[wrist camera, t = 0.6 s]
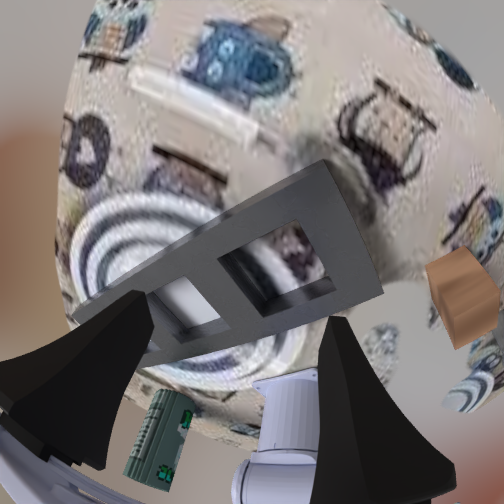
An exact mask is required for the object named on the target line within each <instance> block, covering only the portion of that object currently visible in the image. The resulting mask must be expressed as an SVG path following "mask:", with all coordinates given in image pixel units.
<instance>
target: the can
mask: <svg viewBox="0 0 504 504" xmlns="http://www.w3.org/2000/svg"><path fill="white" fill-rule="evenodd" d="M195 407H196V405H195V403H194V402H193V401H191V399H190V398H188V397H186V396H184V395H183V394H181V393H177V392H175V391H171V390H167V389H165V390H163V389H160V390H158V391H156V393H155V396H154V398H153V400H152V403H151V405H150V407H149V410H148V412H147V415H146V417H145V419H144V422H143V424H142V427H141V429H140V432H139V434H138V437H137V439H136V442H135V444H134V447H133V449H132V452H131V454H130V457H129V459H128V462H127V464H126V467H125V470H124V472H123V475H125V476H127V477H129V478H131V479H134V480H135V481H138V482H140V483H143V484H145V485H148V486H150V487H153V488H156V489H159V490H162V491H166V492H169V490H170V486H171V483H172V480H173V477H174V474H175V470H176V467H177V464H178V461H179V458H180V455H181V451H182V448H183V445H184V442H185V438H186V436H187V432H188V429H189V426H190V423H191V420H192V417H193V414H194V411H195Z"/></svg>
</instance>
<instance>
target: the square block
mask: <svg viewBox="0 0 504 504" xmlns="http://www.w3.org/2000/svg"><path fill="white" fill-rule="evenodd" d="M425 267H426V272H427V276H428V281H429V285H430V291H431V296H432V300H433V302H434V304H435V306H436V308H437V310H438V312H439V314H440V316H441V319H442V321H443V323H444V325H445V327H446V330H447V332H448V334H449V337H450V339H451V341H452V343H453V346H454V349H455V350H456V349H459V348H460V347H462V346H464V345H466V344H468V343H470V342H472V341H474V340H476V339H477V338H479V337H481V336H483V335H484V334H486V333H488V332H490V331H491V330H493V329H495V328H496V327H497V322H498V314H499V304H500V290H499V288H498V287H497V285H496V284H495V283H494V281H493V280H492V279H491V277H490V276H489V275H488V273H487V272H486V271H485V270H484V268H483V267H482V266H481V265H480V263H479V262H478V261H477V260H476V258H475V257H474V256H473V255H472V254H471V252H470V251H469V250H468V249H467V248H466V247H465V245H464V246H462V247H460V248H458V249H456V250H454V251H453V252H451V253H449V254H447V255H445V256H443V257H441V258H439V259H437V260H435V261H433V262H431V263H429V264H427V265H425Z"/></svg>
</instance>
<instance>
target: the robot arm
mask: <svg viewBox="0 0 504 504" xmlns="http://www.w3.org/2000/svg"><path fill="white" fill-rule="evenodd" d="M154 327H155V326H154V323H153V320H152V316H151V313H150V310H149V306H148V302H147V299H146V295H145V292H143V291H138V290H131V291H129V292H128V293H126V294H125V295H123V296H122V297H120V298H119V299H117V300H116V301H115V302H113V303H112V304H110V305H109V306H108V307H106V308H105V309H103V310H102V311H101V312H99V313H98V314H96V315H95V316H94V317H92V318H91V319H89V320H88V321H86V322H85V323H83V324H82V325H80V326H79V327H77V328H76V329H74V330H73V331H71V332H69V333H68V334H66V335H65V336H63V337H61V338H59V339H57V340H56V341H54V342H52V343H50V344H48V345H45V346H44V347H41V348H39V349H37V350H35V351H32V352H30V353H27V354H25V355H22V356H19V357H16V358H13V359H9V360H5V361H1V362H0V408H1V409H2V410H3V412H2V414H1V413H0V483H1V484H2V486H3V487H4V488H5V490H6V491H7V492H8V494H9V495H10V496H11V498H12V499H13V500H14V501H15V503H16V504H105V503H107V504H144V503H142V502H139V501H137V500H134V499H132V498H129V497H127V496H125V495H123V494H120V493H118V492H116V491H114V490H112V489H110V488H108V487H106V486H104V485H101V484H100V483H98V482H96V481H94V480H92V479H90V478H89V477H87V476H85V475H83V474H82V473H80V472H78V471H77V470H75V469H73V468H72V467H71V465H72V463H75V464H77V465H78V466H81V464H82V462H83V463H85V464H87V465H89V466H91V467H92V468H94V469H96V470H98V471H99V470H103V469H105V466H106V458H107V452H108V446H109V441H110V437H111V432H112V428H113V424H114V421H115V418H116V414H117V411H118V408H119V405H120V403H121V400H122V397H123V394H124V392H125V390H126V388H127V386H128V384H129V382H130V380H131V378H132V376H133V374H134V372H135V370H136V368H137V366H138V364H139V362H140V360H141V359H142V357H143V355H144V353H145V351H146V349H147V347H148V344H149V341H150V339H151V336H152V333H153V330H154ZM252 387H253V388H255V389H256V390H257V391H258V392H259V393H260V394H262V395H263V396H264V397H265V398H266V399H265V406H264V412H263V418H262V425H261V431H260V437H259V443H258V449H257V452H252V455H251V459H246V460H244V461H243V462H242V463H241V464H240V465H239V466H238V468H237V470H236V472H235V474H234V478H233V482H232V492H231V494H232V501H233V504H431V499H432V498H435V497H437V496H440V495H443V494H445V493H447V492H450V491H452V490H454V489H455V488H456V486H457V485H456V473H455V467H454V464H453V463H452V462H451V461H450V460H449V459H447V458H446V457H445V456H444V455H443V454H441V453H440V452H439V451H438V450H436V449H435V448H434V447H433V446H432V445H431V444H430V443H429V442H428V441H427V440H426V439H425V438H424V437H423V436H422V435H421V434H420V433H419V432H418V430H416V428H415V427H414V426H413V425H412V423H411V422H410V421H409V420H408V419H407V418H406V417H405V416H404V414H403V413H402V412H401V410H400V409H399V408H398V407H397V405H396V404H395V402H394V401H393V400H392V398H391V397H390V395H389V394H388V392H387V391H386V389H385V388H384V386H383V385H382V383H381V382H380V380H379V378H378V377H377V375H376V374H375V372H374V370H373V368H372V367H371V365H370V363H369V361H368V360H367V358H366V356H365V354H364V352H363V350H362V349H361V347H360V345H359V343H358V341H357V339H356V337H355V335H354V333H353V331H352V329H351V327H350V325H349V322H348V320H347V319H346V317H340V316H329V318H328V322H327V325H326V328H325V332H324V335H323V338H322V342H321V345H320V348H319V354H318V369H316V368H310V369H306V370H303V371H299V372H295V373H291V374H287V375H283V376H279V377H274V378H270V379H265V380H261V381H256V382H253V383H252ZM78 488H80V489H81V490H83V491H85V492H87V493H88V494H90V495H92V496H94V497H96V498H97V499H99V500H101V501H103V502H105V503H103V502H101V501H99V500H97V499H95V498H92V497H90V496H88V495H85V494H83V493H81V492H79V490H78ZM454 504H460V502H457V503H454Z"/></svg>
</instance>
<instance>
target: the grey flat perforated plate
mask: <svg viewBox="0 0 504 504" xmlns="http://www.w3.org/2000/svg"><path fill="white" fill-rule="evenodd" d="M295 219H297V220H298V222H299V224H300V226H301V227H302V229H303V231H304V232H305V234H306V236H307V238H308V239H309V241H310V243H311V244H312V246H313V248H314V250H315V251H316V253H317V255H318V257H319V259H320V260H321V262H322V264H323V266H324V267H325V269H326V271H327V273H328V275H329V276H327V277H324V278H322V279H320V280H317V281H315V282H313V283H310V284H308V285H305V286H303V287H300V288H298V289H295V290H293V291H290V292H288V293H285V294H283V295H280V296H278V297H275V298H273V299H270V300H267V301H266V300H265V299H264V298H263V296H262V295H261V294H260V292H259V291H258V290H257V288H256V287H255V286H254V284H253V283H252V282H251V280H250V279H249V278H248V276H247V275H246V274H245V272H244V271H243V270H242V268H241V267H240V266H239V264H238V263H237V262H236V260H235V259H234V258H233V256H232V255H231V254H230V252H231V251H233V250H235V249H237V248H239V247H241V246H243V245H245V244H247V243H249V242H251V241H253V240H255V239H257V238H259V237H261V236H263V235H265V234H267V233H269V232H271V231H273V230H275V229H277V228H279V227H281V226H283V225H285V224H287V223H289V222H291V221H293V220H295ZM183 275H185V276H186V277H187V278H188V279H189V281H190V282H191V283H192V284H193V285H194V286H195V288H196V289H197V290H198V291H199V292H200V293H201V295H202V296H203V297H204V298H205V299H206V300H207V302H208V303H209V304H210V305H211V306H212V307H213V308H214V310H215V311H216V312H217V313H218V314H219V315H220V316H221V317H222V318H219V319H216V320H213V321H210V322H207V323H204V324H202V325H199V326H196V327H193V328H190V329H187V328H186V327H185V326H184V325H183V324H182V323H181V322H180V321H179V320H178V319H177V318H176V317H175V316H174V315H173V314H172V312H171V311H170V310H169V309H168V308H167V307H166V306H165V305H164V304H163V303H162V302H161V301H160V299H159V298H158V297H157V296H156V295H155V294H154V293H153V292H152V291H154V290H156V289H158V288H160V287H162V286H164V285H166V284H168V283H170V282H171V281H173V280H175V279H177V278H179V277H181V276H183ZM131 290H138V291H143V292H145V295H146V299H147V302H148V306H149V310H150V313H151V316H152V320H153V323H154V326H155V327H154V330H153V333H152V336H151V339H150V340H151V341H150V342H149V344H148V347H147V349H146V351H145V353H144V355H143V357H142V359H141V360H140V362H139V364H138V366H137V368H136V369H140V368H145V367H150V366H155V365H160V364H165V363H170V362H174V361H179V360H183V359H187V358H192V357H196V356H200V355H204V354H208V353H212V352H216V351H219V350H223V349H227V348H230V347H234V346H238V345H241V344H245V343H248V342H251V341H255V340H258V339H261V338H265V337H268V336H271V335H274V334H277V333H280V332H284V331H287V330H290V329H293V328H296V327H298V326H301V325H304V324H307V323H310V322H313V321H316V320H318V319H321V318H324V317H327V316H329V315H332V314H335V313H337V312H340V311H342V310H345V309H348V308H350V307H353V306H355V305H358V304H360V303H363V302H365V301H367V300H370V299H372V298H375V297H377V296H379V295H381V294H384V292H383V289H382V286H381V283H380V280H379V277H378V275H377V272H376V270H375V267H374V265H373V262H372V260H371V258H370V255H369V253H368V250H367V248H366V246H365V244H364V241H363V239H362V237H361V234H360V232H359V230H358V228H357V226H356V223H355V221H354V219H353V217H352V215H351V213H350V211H349V209H348V207H347V205H346V203H345V200H344V198H343V196H342V194H341V193H340V191H339V189H338V187H337V185H336V183H335V181H334V179H333V177H332V175H331V173H330V171H329V170H328V168H327V166H326V164H325V162H324V160H323V159H322V160H320V161H318V162H316V163H314V164H312V165H310V166H308V167H306V168H304V169H302V170H300V171H298V172H297V173H295V174H293V175H291V176H289V177H287V178H285V179H283V180H282V181H280V182H278V183H276V184H274V185H272V186H270V187H269V188H267V189H265V190H263V191H261V192H260V193H258V194H256V195H254V196H252V197H251V198H249V199H247V200H245V201H243V202H242V203H240V204H238V205H236V206H235V207H233V208H231V209H229V210H228V211H226V212H224V213H223V214H221V215H219V216H217V217H216V218H214V219H212V220H211V221H209V222H207V223H206V224H204V225H202V226H200V227H199V228H197V229H195V230H194V231H192V232H191V233H189V234H187V235H186V236H184V237H182V238H181V239H179V240H177V241H176V242H174V243H173V244H171V245H169V246H168V247H166V248H165V249H163V250H161V251H160V252H158V253H157V254H155V255H153V256H152V257H150V258H149V259H147V260H146V261H144V262H142V263H141V264H139V265H138V266H136V267H135V268H133V269H132V270H130V271H129V272H127V273H126V274H124V275H123V276H121V277H120V278H118V279H117V280H115V281H114V282H112V283H111V284H109V285H108V286H106V287H105V288H103V289H102V290H100V291H99V292H97V293H96V294H94V295H93V296H92V297H90V298H89V299H87V300H86V301H84V302H83V303H82V304H80V305H79V307H78V308H77V309H76V310H75V311H74V313H73V314H72V316H73V317H74V319H75V320H76V321H77V322H78V323H79V324H80V325H82V324H83V323H85V322H86V321H88V320H89V319H91V318H92V317H94V316H95V315H96V314H98V313H99V312H101V311H102V310H103V309H105V308H106V307H108V306H109V305H110V304H112V303H113V302H115V301H116V300H117V299H119V298H120V297H122V296H123V295H125V294H126V293H128V292H129V291H131Z"/></svg>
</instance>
